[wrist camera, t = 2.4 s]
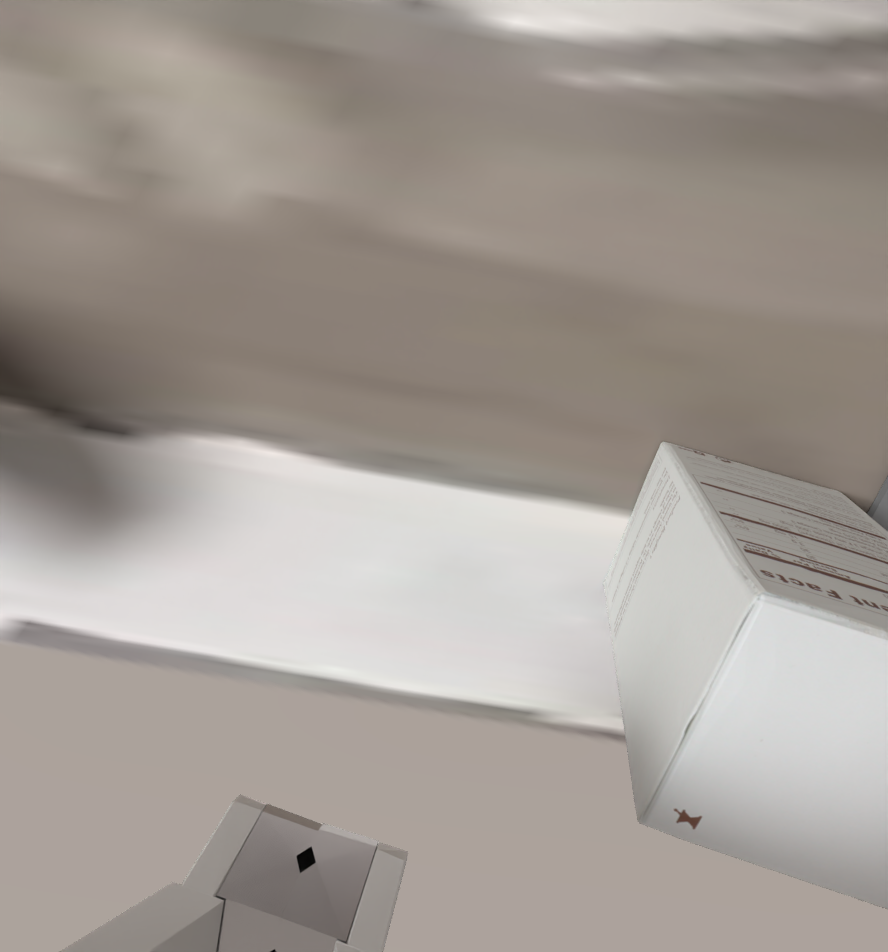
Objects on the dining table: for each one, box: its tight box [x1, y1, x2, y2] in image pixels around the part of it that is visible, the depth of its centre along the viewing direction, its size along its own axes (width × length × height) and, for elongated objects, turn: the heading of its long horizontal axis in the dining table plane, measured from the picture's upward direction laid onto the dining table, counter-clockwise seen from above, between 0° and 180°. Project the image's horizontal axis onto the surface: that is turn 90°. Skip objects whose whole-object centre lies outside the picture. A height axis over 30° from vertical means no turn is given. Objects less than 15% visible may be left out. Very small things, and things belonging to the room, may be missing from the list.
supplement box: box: [603, 442, 888, 909], centre depth 20 cm, size 7×7×13 cm
